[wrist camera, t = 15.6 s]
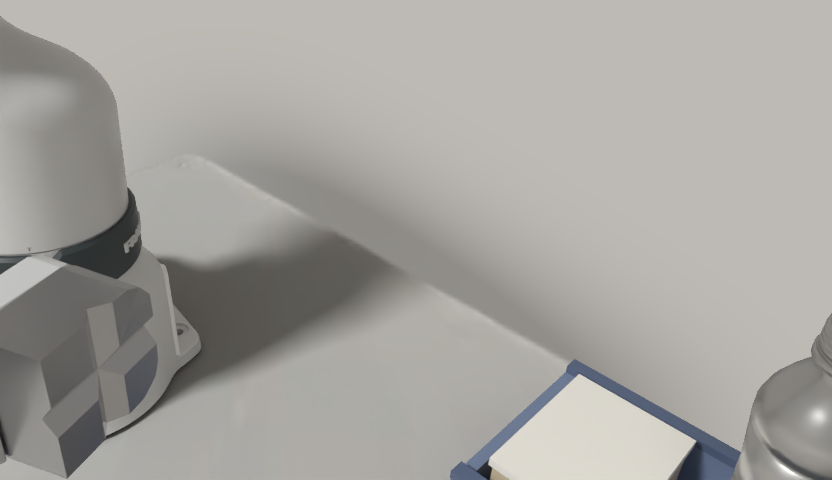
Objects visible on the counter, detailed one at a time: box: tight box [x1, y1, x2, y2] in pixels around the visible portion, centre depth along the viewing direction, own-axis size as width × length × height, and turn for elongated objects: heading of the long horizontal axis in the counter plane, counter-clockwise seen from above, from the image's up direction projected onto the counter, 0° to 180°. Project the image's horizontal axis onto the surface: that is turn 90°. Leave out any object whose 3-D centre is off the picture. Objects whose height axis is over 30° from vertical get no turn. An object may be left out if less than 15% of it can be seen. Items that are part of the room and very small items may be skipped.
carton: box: [488, 374, 696, 480], centre depth 47 cm, size 8×10×5 cm
